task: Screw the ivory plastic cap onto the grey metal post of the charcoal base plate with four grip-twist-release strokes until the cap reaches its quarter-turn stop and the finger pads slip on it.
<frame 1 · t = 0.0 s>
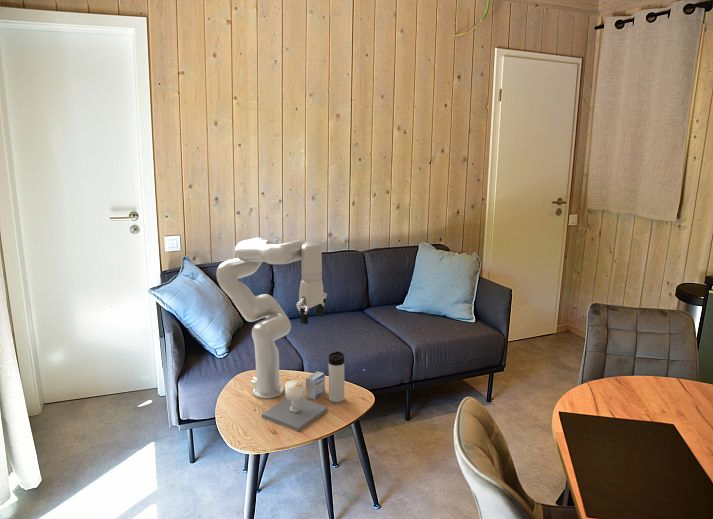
hand: (312, 319, 207), 37 cm above the table, tool pointing down, fingers open, 9 cm apart
medicine box: (315, 395, 226), on the table
post base: (295, 414, 210), on the table
cap: (294, 389, 208), point 10 cm above the table, hinge at 0.0°
travel mug: (336, 400, 221), on the table
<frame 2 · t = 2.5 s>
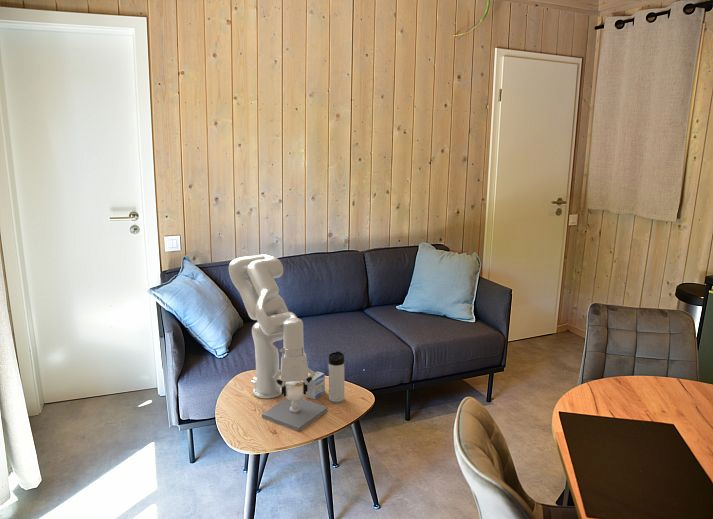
hand: (294, 393, 208), 9 cm above the table, tool pointing down, fingers closed on cap, 7 cm apart
cap: (294, 389, 208), point 10 cm above the table, hinge at 0.0°, touching gripper
everything else where it was.
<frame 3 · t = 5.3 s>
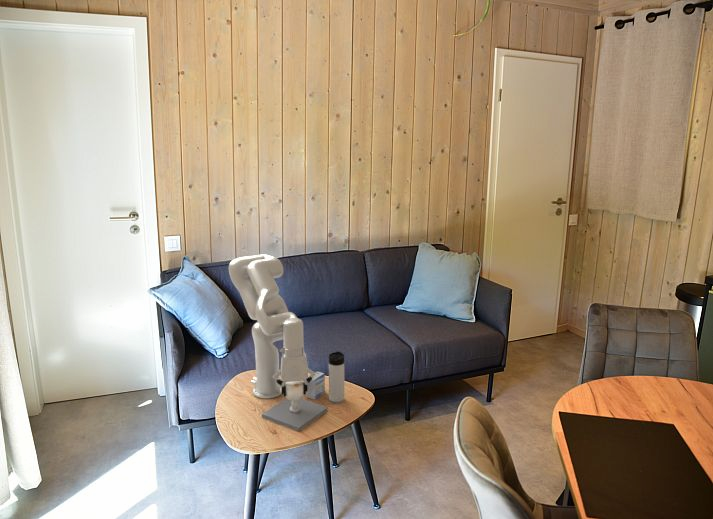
hand: (294, 393, 208), 9 cm above the table, tool pointing down, fingers closed on cap, 7 cm apart
cap: (294, 389, 208), point 10 cm above the table, hinge at 26.0°, touching gripper
everything else where it was.
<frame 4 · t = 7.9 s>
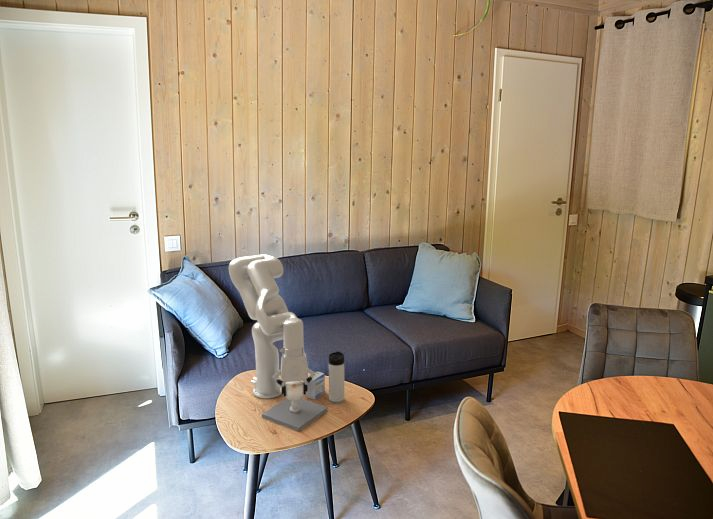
hand: (294, 393, 208), 9 cm above the table, tool pointing down, fingers closed on cap, 7 cm apart
cap: (294, 389, 208), point 10 cm above the table, hinge at 52.2°, touching gripper
everything else where it was.
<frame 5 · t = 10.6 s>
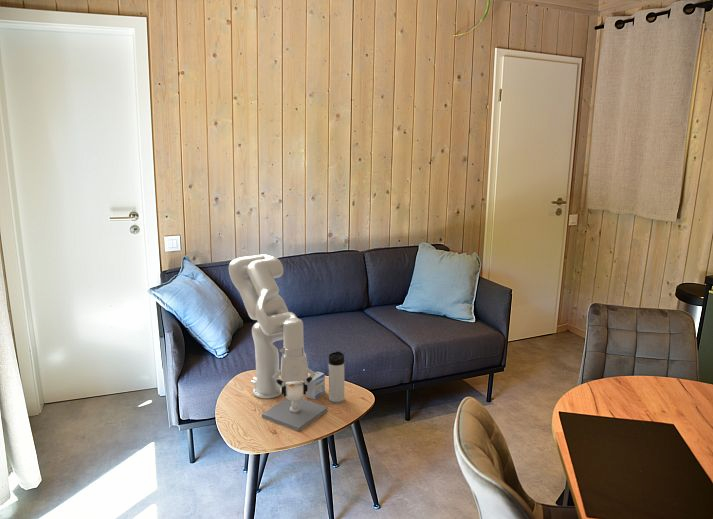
hand: (294, 393, 208), 9 cm above the table, tool pointing down, fingers closed on cap, 7 cm apart
cap: (294, 389, 208), point 10 cm above the table, hinge at 78.5°, touching gripper
everything else where it was.
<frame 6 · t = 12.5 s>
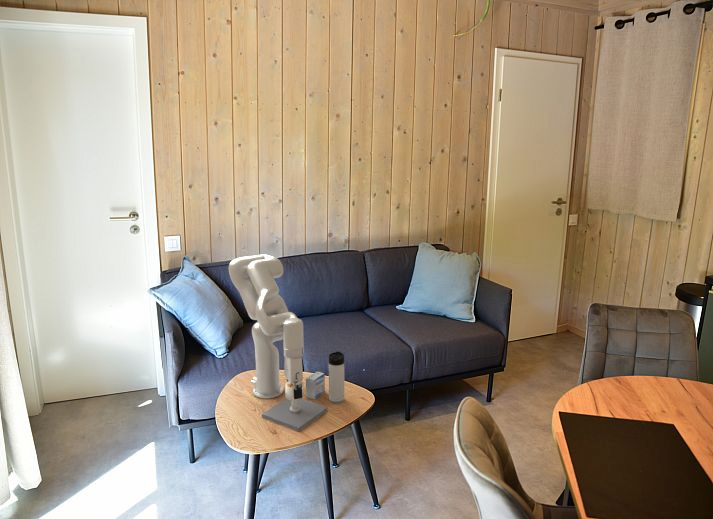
hand: (294, 392, 208), 9 cm above the table, tool pointing down, fingers open, 9 cm apart
cap: (294, 389, 208), point 10 cm above the table, hinge at 101.6°
everything else where it was.
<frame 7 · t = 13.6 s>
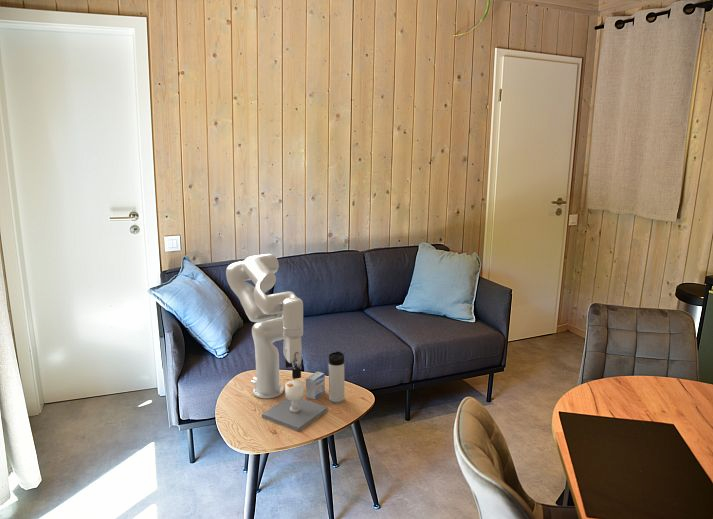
hand: (293, 372, 207), 17 cm above the table, tool pointing down, fingers open, 9 cm apart
cap: (294, 389, 208), point 10 cm above the table, hinge at 105.1°
everything else where it was.
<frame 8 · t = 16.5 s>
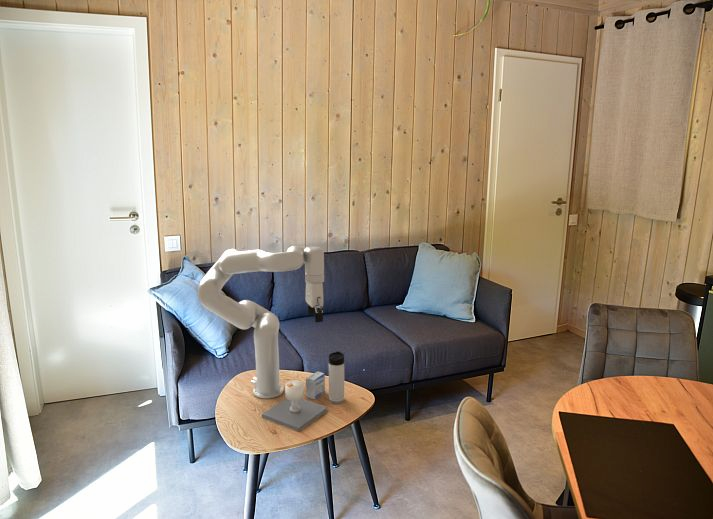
hand: (315, 318, 222), 32 cm above the table, tool pointing down, fingers open, 9 cm apart
cap: (294, 389, 208), point 10 cm above the table, hinge at 105.8°
everything else where it was.
at the end: cap at +106° (first picture: +0°); the gripper is holding nothing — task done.
